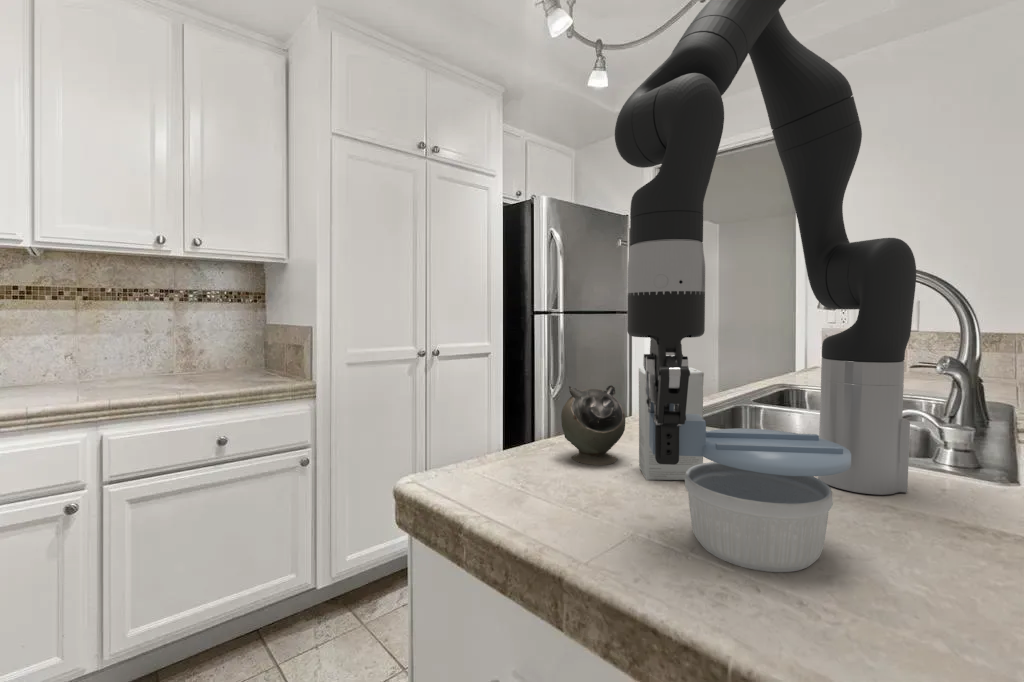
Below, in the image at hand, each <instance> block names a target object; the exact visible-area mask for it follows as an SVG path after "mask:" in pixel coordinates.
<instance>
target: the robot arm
mask: <svg viewBox="0 0 1024 682" xmlns="http://www.w3.org/2000/svg"><path fill="white" fill-rule="evenodd" d="M786 1H787V0H708V2H707V3H706V4H705V5H704V6H703V8H702V9H701V10H699V12H698V14H697V15H696V16H695V18H693V20H692V22H691V23H690V24H689V25H688V27H687V28H686V30H685V31H684V33H683V34H682V36H681V37H680V38H679V40H678V42H677V44H676V45H675V47H673V50H672V52H671V54H670V55H669V56H668V57H667V59H665V60H664V62H663V63H662V64H660V65H659V66H658V67H657V68H656V69H655V70H654V71H653V72H651V74H650V75H649V76H648V77H647V78H646V79H645V80H643V82H642V83H641V84H640V85H639V86H638V87H637V88H636V89H635V90H634V91H633V93H631V95H629V97H628V98H627V100H626V101H625V103H624V104H622V107H621V109H620V111H619V113H618V115H617V118H616V121H615V128H614V141H615V142H614V143H615V147H616V149H617V152H618V154H619V156H620V157H621V158H622V159H623V160H624V161H625V162H626V163H628V164H629V165H631V166H633V167H636V168H644V169H645V168H653V167H655V166H658V165H660V168H659V170H658V172H657V174H656V175H655V176H654V178H652V179H651V180H650V181H648V182H647V183H646V184H644V185H643V186H641V187H640V188H638V189H637V190H636V191H635V192H634V194H633V195H632V197H631V201H630V211H629V212H630V215H629V217H630V219H629V220H630V221H629V223H630V225H629V226H630V227H629V230H630V231H629V232H630V233H629V237H630V238H629V239H630V240H629V241H630V243H629V245H630V246H629V254H628V255H629V256H628V263H627V279H626V280H627V281H626V282H627V284H626V285H627V286H626V288H627V289H626V291H627V296H626V297H627V300H626V301H627V303H626V304H627V307H626V309H627V310H626V311H627V313H626V314H627V319H626V320H627V324H626V326H627V328H626V329H627V330H626V332H627V333H628V335H629V336H631V337H634V338H648V339H649V338H650V343H649V344H650V346H649V353H643V363H642V366H643V368H644V369H645V391H646V395H647V400H646V403H647V404H648V407H649V408H648V413H654V417H653V422H654V423H655V459H656V461H657V463H659V464H671V465H675V464H677V463H678V462H679V427H681V425H682V424H685V421H686V405H687V393H688V382H689V376H690V370H689V357H688V356H685V355H684V354H683V350H682V349H683V347H682V346H683V345H682V340H683V339H686V338H700V337H702V336H703V335H704V334H705V332H706V331H705V328H706V327H705V326H706V324H705V322H706V260H705V253H704V243H703V242H704V203H705V202H704V201H705V197H706V193H707V190H708V186H709V183H710V180H711V176H712V172H713V168H714V164H715V161H716V158H717V155H718V151H719V148H720V144H721V139H722V136H723V131H724V124H725V108H724V105H725V104H724V102H723V98H722V96H723V95H724V94H725V92H727V90H728V89H729V88H730V86H731V84H732V82H733V81H734V79H735V78H736V76H737V74H738V73H739V70H740V69H741V68H742V66H743V64H744V62H745V61H746V59H747V57H748V56H749V58H750V61H751V63H752V66H753V69H754V72H755V75H756V78H757V81H758V85H759V89H760V92H761V95H762V99H763V103H764V105H765V109H766V112H767V117H768V121H769V126H770V129H771V131H772V132H771V133H772V137H773V139H774V143H775V147H776V149H777V153H778V156H779V158H780V161H781V164H782V166H783V170H784V173H785V174H784V175H785V176H786V181H787V184H788V187H789V191H790V194H791V199H792V202H793V208H794V212H795V215H796V219H797V223H798V229H799V234H800V240H801V246H802V252H803V258H804V263H805V269H806V274H807V278H808V281H809V285H810V289H811V291H812V292H813V293H812V294H813V295H814V298H815V299H816V301H818V303H820V304H821V305H822V306H824V307H825V308H827V309H830V310H847V311H848V310H858V313H857V317H856V320H855V322H854V323H853V324H852V325H851V326H850V327H849V328H847V329H845V330H843V331H840V332H839V333H836V334H832V335H829V336H827V337H824V339H823V341H822V343H821V344H822V345H821V365H820V367H821V369H820V370H821V371H820V397H819V400H820V401H819V404H820V405H819V428H818V429H819V433H818V435H819V438H821V439H825V440H828V441H831V442H834V443H837V444H839V445H841V446H843V447H845V448H847V449H848V450H849V451H850V452H851V467H850V468H849V469H848V470H847V471H845V472H842V473H838V474H834V475H826V476H817V479H819V480H821V481H823V482H824V483H826V484H827V485H828V486H829V487H833V488H837V489H840V490H844V491H848V492H853V493H859V494H867V495H878V496H879V495H881V496H882V495H894V494H897V493H908V490H909V489H908V487H909V485H908V484H909V461H910V438H911V436H910V435H911V422H910V421H909V419H907V418H905V417H903V409H904V388H905V387H904V383H905V382H904V381H905V360H906V359H905V358H906V357H905V356H906V348H907V346H908V344H909V340H910V337H911V332H912V325H913V324H912V322H913V312H914V302H915V294H916V287H917V286H916V285H917V284H916V283H917V265H916V264H917V263H916V258H915V255H914V252H913V250H912V249H911V247H910V246H909V244H908V243H907V242H906V241H905V240H903V239H900V238H896V237H884V238H883V237H882V238H881V237H880V238H873V239H867V240H861V241H860V240H859V241H852V242H850V241H849V238H848V235H847V231H846V227H845V222H844V211H843V210H844V209H843V207H844V206H843V205H844V204H843V203H844V197H845V193H846V190H847V187H848V185H849V181H850V178H851V176H852V174H853V171H854V168H855V165H856V163H857V159H858V156H859V154H860V149H861V146H862V145H861V144H862V138H863V132H862V130H863V129H862V125H861V121H860V117H859V116H860V115H859V113H858V109H857V106H856V101H855V97H854V93H853V89H852V87H851V84H850V82H849V81H848V78H846V76H845V75H844V74H843V73H842V72H841V71H839V70H838V68H836V67H835V66H834V65H832V64H831V63H830V62H828V61H827V60H826V59H824V58H822V57H821V56H819V55H818V54H816V53H815V52H813V50H810V49H809V48H807V47H806V46H805V45H804V44H802V43H801V42H800V41H799V40H798V39H797V38H796V37H795V36H794V35H793V34H792V33H791V32H790V30H789V29H788V26H787V25H786V22H785V21H784V19H783V17H782V14H781V12H780V8H781V7H782V6H783V5H784V3H785V2H786ZM674 405H675V409H674Z"/></svg>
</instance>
